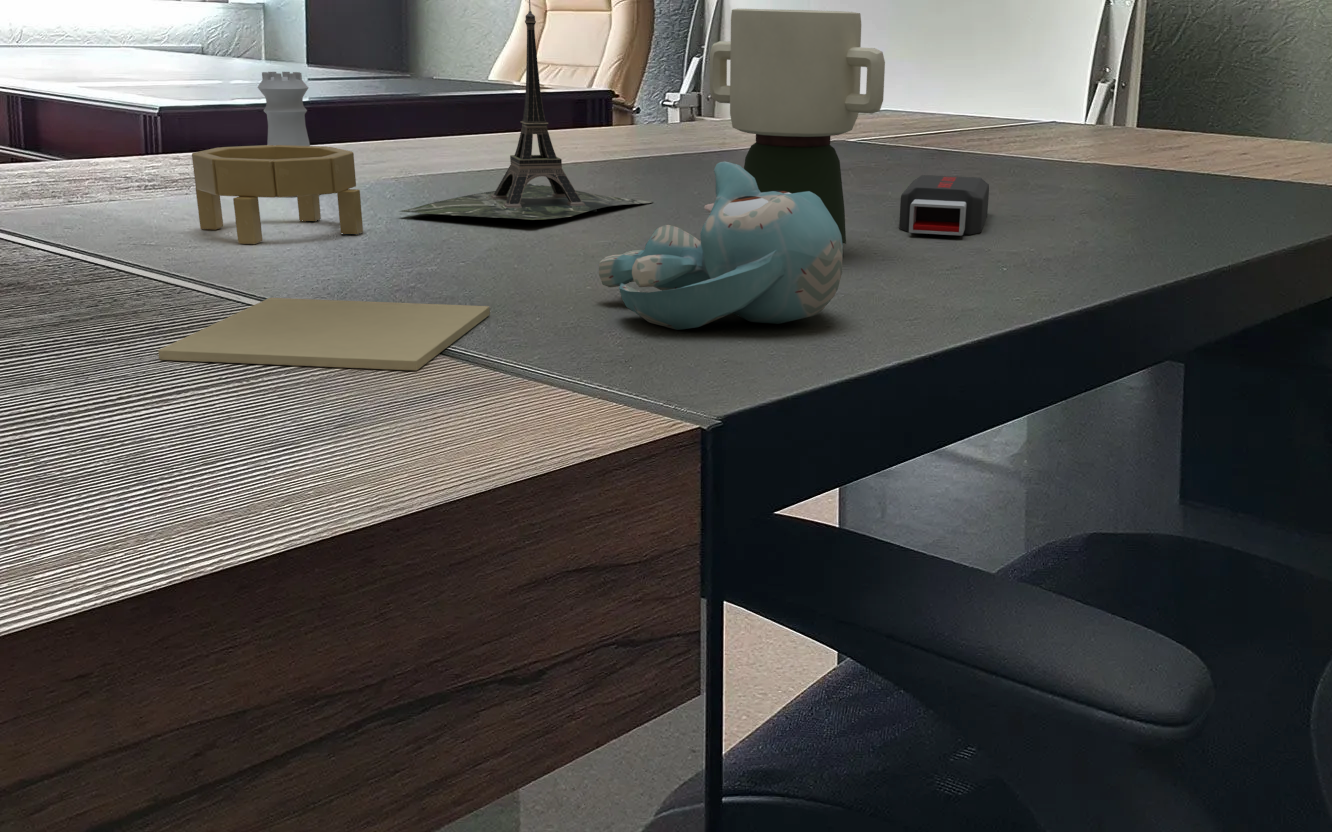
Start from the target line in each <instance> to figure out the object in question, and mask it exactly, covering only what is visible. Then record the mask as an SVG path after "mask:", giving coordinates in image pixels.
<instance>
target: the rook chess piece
mask: <svg viewBox="0 0 1332 832" xmlns="http://www.w3.org/2000/svg"><path fill="white" fill-rule="evenodd" d="M302 75H303V74H302V72H300V71H298V72H297V71H292V72H290V71H282V72H280V73H279V72H278V73H277V71H262V72H261V77H262V80H261V81H260V82H259V84H258V85H257V89H258V90H259V92H260V93H261V94H262V95H263V97H264V98H265V107H264V108H263V110H262V111H263V112H264V113H265V114H266V119H267V143H266V145H297V146H311V143H310V139H309V136H308V135H309V134H308V130H307V126H306V117H305V116H306V113H307V112H308V109H307V108H306V107H305V106H304V102H303V101H304V96H305V95H306V93H307V91H308V89H309V86H308V85H307V84H306V83H305V82H304V80H303V76H302Z"/></svg>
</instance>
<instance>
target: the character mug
mask: <svg viewBox="0 0 1332 832" xmlns="http://www.w3.org/2000/svg"><path fill="white" fill-rule="evenodd" d="M730 14H731V15H730V41H728V40H727V41H726V40H725V41H724V40H719V41H716V42H714V43H713V44H712V45H711V47H710V52H709V93H710V96H711V98H712V100H713V101H715V102H717V103H719V104H729V115H730V116H729V117H730V121H731V126H732V129H734V130H737V131H739V132H741V133H746V134H750V135H751V134H752V135H755V142H754V143H753V144H751V145H750V146H749V149H748V151H747V154H746V155H745V159H744V165H743V169H745V170H746V171H747V172H748V173H749V174H751V175H752V176H753V177H754V178H755V180H756V183H757V186H758V189H759V191H760V192H761V193H762V192H769V191H776V190H779V191H786V192H789V193H799V192H807V191H810V192H812V193H814V194H816V195H817V196H818V197H819V198H820V199H821V200H822V202H823V204H824V205H825V207H826V208H827V210H828V211H829V213H830V214H831V216H832V218H833V219H834V221H835V222H836V224H837V226H838V228H839V230H840V233H841V236H842V243H843V245H847V235H846V234H847V233H846V211H845V200H844V190H843V179H842V171H841V170H842V169H841V161H840V158H839V155H838V154H837V153H838V152H837V151H836V148H835V147H833V146H832V145H831V137H832V136H839V135H843V134H846V133H848V132H851V131H853V129H854V126H855V124H856V121H857V119H858V118H859V114H871V115H872V114H876V113H878V112H880V111H881V109H882V106H883V103H884V93H885V73H886V71H885V70H886V69H885V68H886V60H885V56H884V52H883V51H882V50H880V49H877V48H875V47H861V43H862V16H861V15H862V14H861V13H860V12H857V11H856V12H855V11H844V10H818V9H817V10H816V9H814V10H813V9H774V8H773V9H771V8H770V9H767V8H734V9H733V8H732V9H731V13H730ZM728 61H730V62H729V63H730V66H729V67H730V69H729V72H730V73H729V76H730V77H729V85H728ZM862 68H866V83H865V84H866V85H865V86H866V87H865V93H861V72H862Z"/></svg>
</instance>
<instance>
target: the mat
mask: <svg viewBox="0 0 1332 832" xmlns="http://www.w3.org/2000/svg"><path fill="white" fill-rule="evenodd" d="M490 315H491V309H490V306H489V305H470V304H469V305H468V304H467V305H465V304H443V303H442V304H441V303H438V304H437V303H416V302H394V301H393V302H390V301H365V300H343V299H342V300H341V299H339V300H338V299H318V298H317V299H315V298H291V297H290V298H289V297H268V298H266V299H264V300H262V301H260V302H258V303H255V304H253V305H251V306H249V307H247V308H244V309H242V310H240V311H238V312H235V313H234V314H232V315H229V316H228V317H225V318H224V319H221V320H219V321H217V322H214V323H213V324H210V325H208V326H207V327H204V328H202V329H200V330H198V331H196V332H193V333H191V334H190V335H189V334H188V335H187V336H185V337H183V338H181V339H179V340H176V341H174V342H172V343H170V344H168V345H166V346H163V347H162V348H159V349H158V351H157V352H158V353H157V354H158V359H159V360H160V361H177V362H201V363H202V362H203V363H205V362H206V363H227V364H249V365H251V364H253V365H273V366H274V365H275V366H297V367H298V366H299V367H300V366H301V367H320V368H321V367H322V368H343V369H344V368H348V369H366V370H367V369H369V370H370V369H371V370H391V371H393V370H394V371H418V370H420V369H421V368H422V367H424V366H425V365H426V364H427V363H429V362H430V361H431V360H432V359H434V358H435V357H436V356H438V355H439V354H440V353H441V352H443V351H444V350H446V349H447V348H448V347H450V346H451V345H452V344H454V343H456V342H457V340H459V339H460V338H462V336H464V335H466V333H468V332H469V331H470V330H472V329H473V328H475V327H476V326H477V325H478V324H479V323H481V322H482V321H484V320H485V319H486V318H487V317H489V316H490Z"/></svg>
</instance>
